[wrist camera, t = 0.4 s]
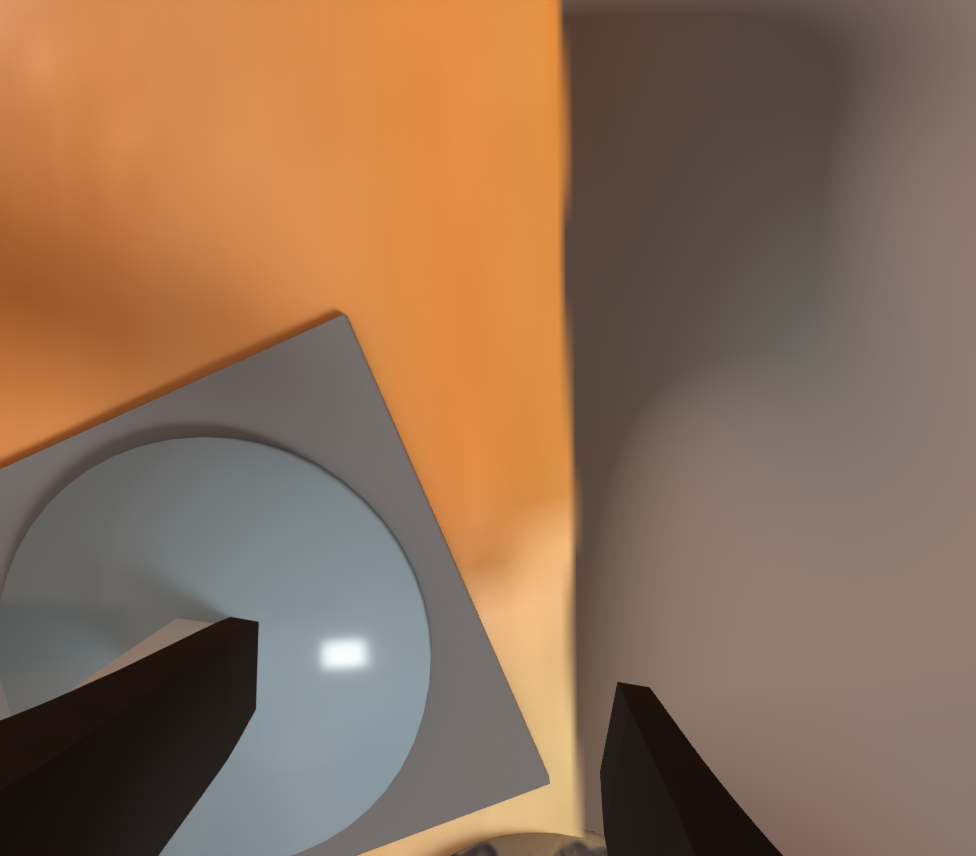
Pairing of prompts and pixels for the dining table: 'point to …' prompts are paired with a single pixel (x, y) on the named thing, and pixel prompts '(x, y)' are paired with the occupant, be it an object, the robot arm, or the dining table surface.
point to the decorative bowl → (540, 845)
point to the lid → (241, 594)
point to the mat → (396, 498)
